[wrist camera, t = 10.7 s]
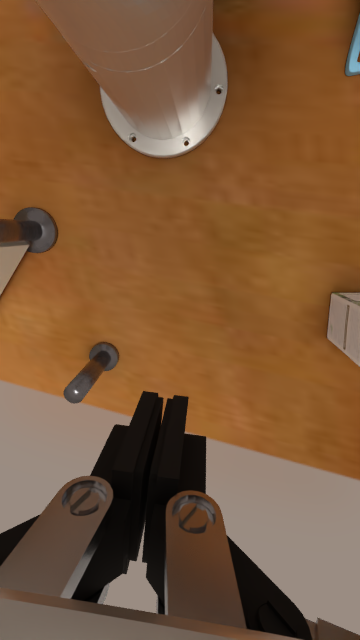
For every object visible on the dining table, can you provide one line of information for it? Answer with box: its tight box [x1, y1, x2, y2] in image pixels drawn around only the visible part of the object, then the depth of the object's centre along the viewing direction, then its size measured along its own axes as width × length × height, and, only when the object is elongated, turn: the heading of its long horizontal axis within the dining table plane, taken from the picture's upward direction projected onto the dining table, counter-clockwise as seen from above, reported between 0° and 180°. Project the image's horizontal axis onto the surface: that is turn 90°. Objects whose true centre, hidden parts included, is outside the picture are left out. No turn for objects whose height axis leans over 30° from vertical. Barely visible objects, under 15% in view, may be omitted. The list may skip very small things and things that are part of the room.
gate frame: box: [0, 208, 119, 403], centre depth 34 cm, size 21×16×12 cm
